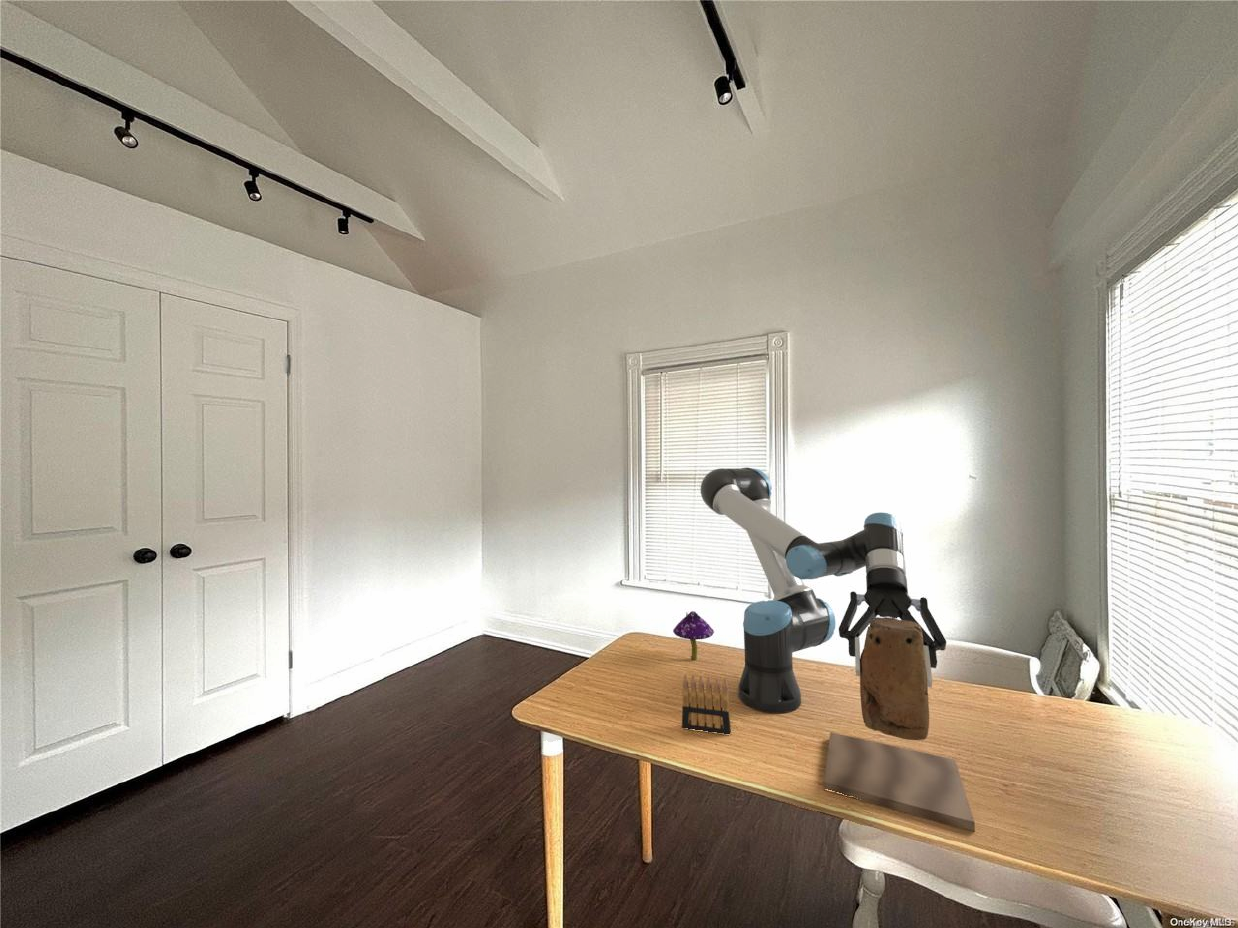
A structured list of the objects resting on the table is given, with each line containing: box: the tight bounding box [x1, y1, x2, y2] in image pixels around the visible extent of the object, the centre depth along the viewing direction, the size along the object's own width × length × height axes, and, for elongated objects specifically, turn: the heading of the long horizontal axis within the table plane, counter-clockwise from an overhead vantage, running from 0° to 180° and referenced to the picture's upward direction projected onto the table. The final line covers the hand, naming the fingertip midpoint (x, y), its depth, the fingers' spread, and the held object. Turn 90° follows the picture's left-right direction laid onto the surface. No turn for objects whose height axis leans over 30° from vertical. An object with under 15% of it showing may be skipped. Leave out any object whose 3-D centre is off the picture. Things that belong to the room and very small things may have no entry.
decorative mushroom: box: [672, 610, 715, 661], centre depth 144 cm, size 12×12×15 cm
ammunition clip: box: [681, 673, 732, 734], centre depth 105 cm, size 11×2×12 cm, turn 73°
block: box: [859, 616, 930, 741], centre depth 87 cm, size 11×8×20 cm
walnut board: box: [823, 732, 976, 832], centre depth 87 cm, size 22×18×2 cm
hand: (892, 678), depth 86 cm, fingers closed on block, 11 cm apart
